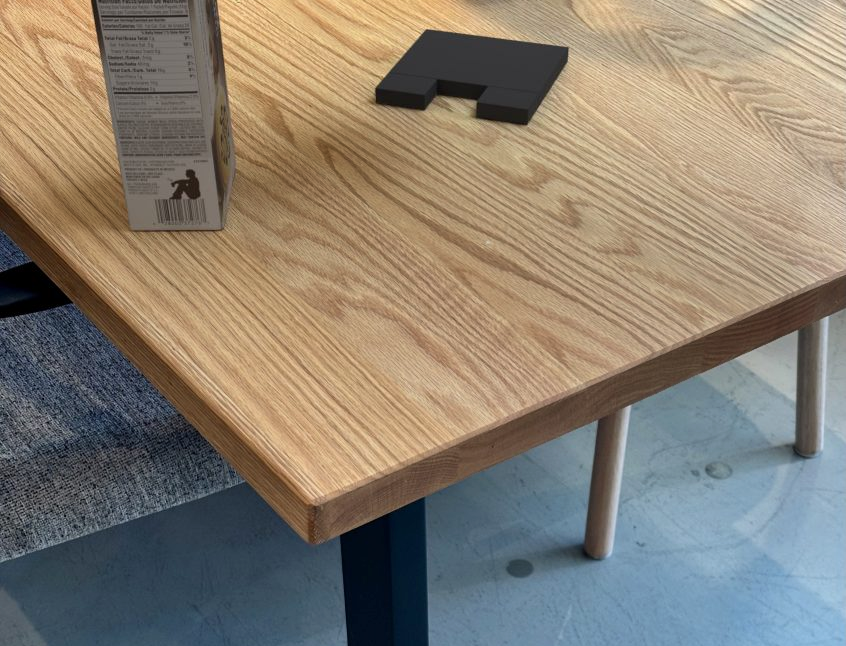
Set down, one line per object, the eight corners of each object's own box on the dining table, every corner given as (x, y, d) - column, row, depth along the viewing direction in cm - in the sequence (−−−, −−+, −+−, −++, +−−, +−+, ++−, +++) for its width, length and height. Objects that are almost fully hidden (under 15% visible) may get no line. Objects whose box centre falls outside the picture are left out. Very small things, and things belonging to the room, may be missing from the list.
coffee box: (147, 167, 93) (109, -72, 82) (238, 166, 93) (212, -73, 82) (126, 233, 86) (82, -19, 76) (225, 231, 86) (195, -20, 76)
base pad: (567, 61, 106) (568, 46, 105) (527, 124, 98) (528, 109, 97) (426, 43, 109) (426, 28, 108) (375, 102, 101) (374, 87, 100)
